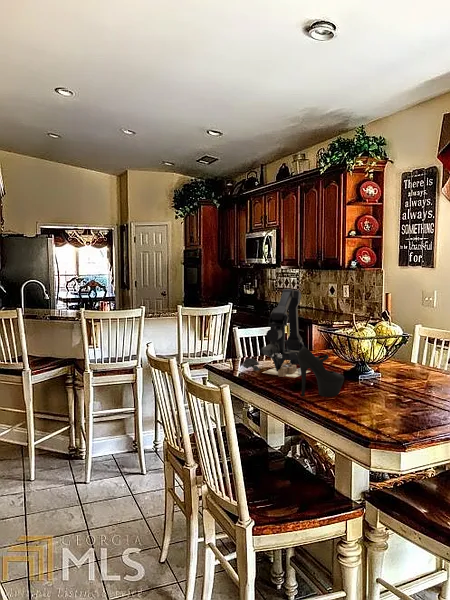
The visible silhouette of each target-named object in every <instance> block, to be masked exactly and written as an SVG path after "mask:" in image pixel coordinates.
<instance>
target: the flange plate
mask: <svg viewBox="0 0 450 600" xmlns="http://www.w3.org/2000/svg"><path fill="white" fill-rule="evenodd" d="M283 365H290V367H283ZM296 369H297V364H291V363H283V364H282V366H281V368H280V369H279V370H278V375H277V377H283V378H284V377H286V376H285V375H287V374H293V373H295V372H296Z"/></svg>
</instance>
